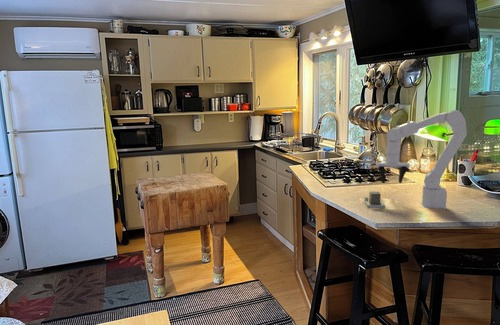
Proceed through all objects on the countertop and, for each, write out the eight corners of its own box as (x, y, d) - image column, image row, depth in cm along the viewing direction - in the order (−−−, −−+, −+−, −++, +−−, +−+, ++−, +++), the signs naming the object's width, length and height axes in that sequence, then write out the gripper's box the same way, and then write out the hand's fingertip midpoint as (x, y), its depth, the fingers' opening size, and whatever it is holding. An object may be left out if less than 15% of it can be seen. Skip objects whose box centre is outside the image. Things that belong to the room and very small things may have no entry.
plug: (374, 199, 178) (375, 187, 177) (380, 206, 167) (380, 193, 166) (365, 199, 179) (366, 187, 178) (370, 206, 167) (371, 193, 166)
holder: (381, 203, 171) (381, 201, 171) (385, 208, 165) (385, 205, 164) (364, 203, 172) (364, 201, 172) (367, 207, 166) (367, 205, 165)
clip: (377, 200, 176) (377, 196, 176) (378, 202, 174) (378, 197, 174) (364, 200, 177) (364, 196, 177) (365, 201, 175) (365, 197, 175)
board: (393, 199, 179) (394, 198, 179) (404, 210, 162) (404, 209, 162) (358, 199, 181) (359, 198, 181) (365, 209, 164) (365, 209, 164)
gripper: (378, 155, 169) (377, 184, 171) (412, 155, 167) (410, 184, 169) (375, 153, 176) (374, 180, 178) (407, 153, 174) (405, 181, 176)
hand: (391, 182), depth 174 cm, fingers open, 7 cm apart
